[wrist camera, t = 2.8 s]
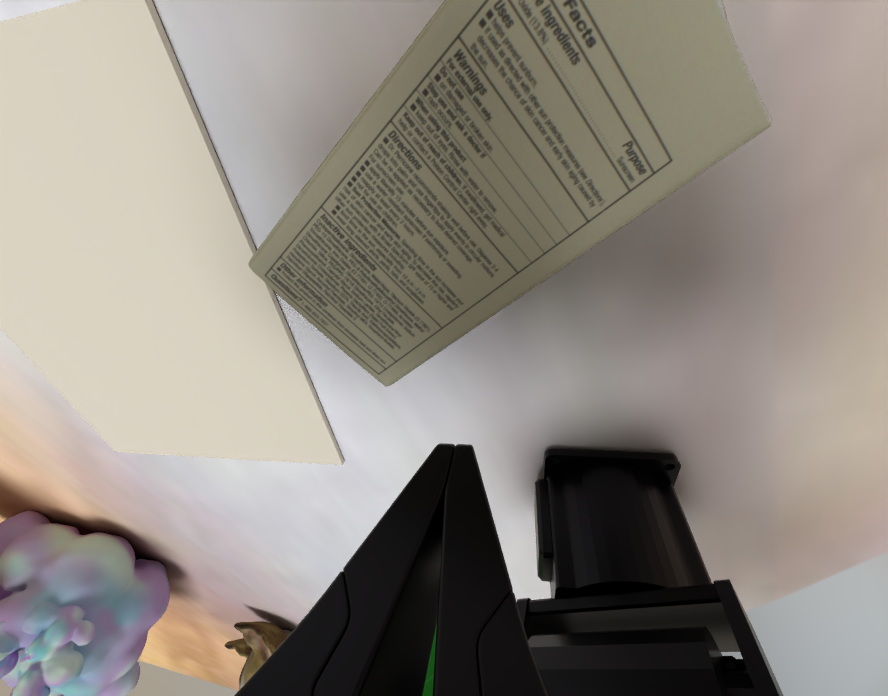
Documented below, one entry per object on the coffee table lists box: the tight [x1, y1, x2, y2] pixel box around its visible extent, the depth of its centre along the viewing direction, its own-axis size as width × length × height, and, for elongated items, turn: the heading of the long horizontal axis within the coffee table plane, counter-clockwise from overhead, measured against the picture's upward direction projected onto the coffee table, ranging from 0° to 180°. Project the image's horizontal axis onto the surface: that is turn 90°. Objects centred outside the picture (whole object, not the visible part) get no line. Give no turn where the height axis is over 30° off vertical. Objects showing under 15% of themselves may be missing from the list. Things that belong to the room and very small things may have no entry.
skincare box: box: [248, 0, 771, 386], centre depth 11 cm, size 6×4×12 cm
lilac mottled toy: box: [0, 511, 170, 696], centre depth 33 cm, size 20×22×18 cm
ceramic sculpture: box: [225, 622, 292, 690], centre depth 43 cm, size 11×9×15 cm
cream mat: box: [0, 0, 344, 465], centre depth 19 cm, size 18×22×1 cm
